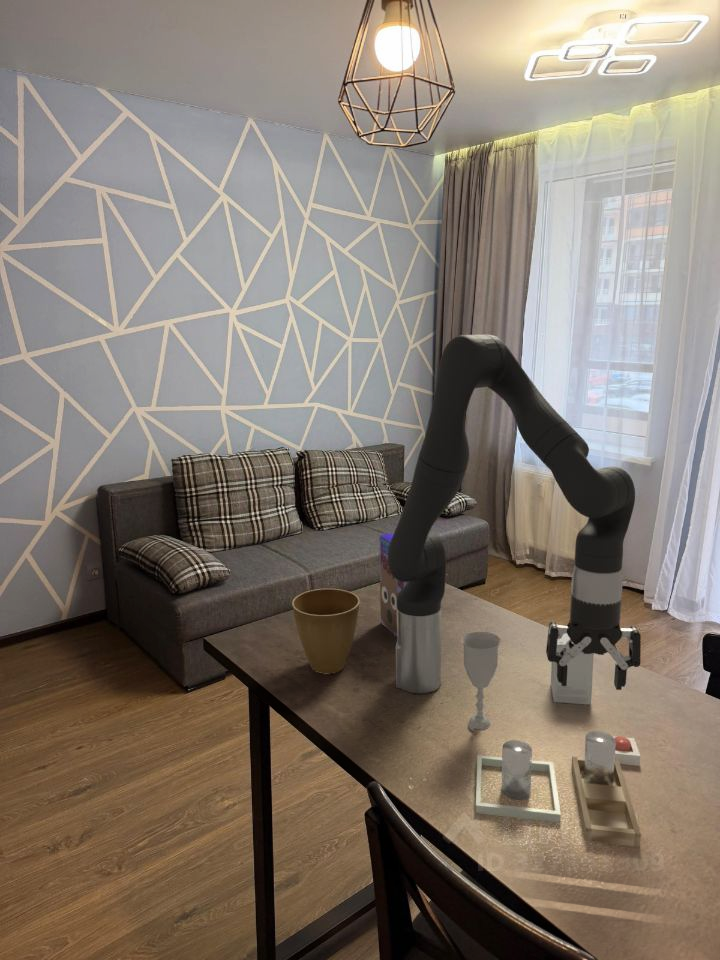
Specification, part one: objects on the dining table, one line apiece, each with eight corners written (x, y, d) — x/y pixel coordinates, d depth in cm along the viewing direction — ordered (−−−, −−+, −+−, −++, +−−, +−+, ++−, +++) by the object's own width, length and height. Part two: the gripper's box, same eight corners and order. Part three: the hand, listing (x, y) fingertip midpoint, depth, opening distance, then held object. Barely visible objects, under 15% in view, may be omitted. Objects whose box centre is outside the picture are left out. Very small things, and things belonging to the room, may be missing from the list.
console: (607, 768, 111) (608, 753, 110) (603, 750, 115) (603, 735, 115) (639, 771, 110) (640, 755, 109) (633, 753, 114) (634, 738, 114)
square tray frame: (475, 819, 100) (475, 805, 99) (477, 768, 112) (477, 755, 111) (560, 829, 97) (560, 814, 97) (552, 775, 109) (553, 762, 109)
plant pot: (283, 677, 144) (279, 609, 140) (313, 647, 157) (310, 585, 154) (345, 689, 138) (343, 618, 135) (371, 657, 152) (369, 592, 148)
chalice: (475, 743, 118) (476, 652, 115) (453, 725, 124) (453, 637, 120) (506, 732, 122) (508, 642, 118) (484, 714, 127) (485, 628, 124)
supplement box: (591, 705, 129) (594, 646, 127) (553, 702, 131) (555, 644, 128) (586, 686, 137) (589, 630, 134) (550, 683, 138) (552, 628, 135)
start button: (614, 757, 111) (615, 744, 111) (611, 748, 114) (612, 735, 113) (630, 758, 111) (631, 746, 110) (627, 749, 113) (628, 737, 113)
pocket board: (584, 847, 94) (585, 828, 93) (571, 773, 110) (572, 756, 109) (639, 853, 92) (641, 834, 92) (617, 777, 108) (618, 760, 108)
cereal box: (380, 623, 170) (378, 534, 165) (397, 619, 172) (395, 532, 167) (414, 650, 154) (413, 554, 149) (431, 646, 156) (431, 550, 151)
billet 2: (585, 791, 103) (587, 746, 102) (581, 773, 108) (583, 730, 106) (615, 794, 103) (618, 749, 101) (610, 776, 107) (612, 732, 105)
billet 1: (501, 801, 103) (502, 756, 101) (501, 782, 107) (502, 739, 105) (531, 804, 102) (532, 759, 100) (529, 785, 106) (531, 741, 104)
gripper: (552, 600, 101) (548, 695, 105) (650, 604, 99) (642, 701, 102) (547, 582, 108) (543, 671, 112) (637, 585, 106) (630, 676, 109)
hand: (590, 685), depth 107 cm, fingers open, 8 cm apart
